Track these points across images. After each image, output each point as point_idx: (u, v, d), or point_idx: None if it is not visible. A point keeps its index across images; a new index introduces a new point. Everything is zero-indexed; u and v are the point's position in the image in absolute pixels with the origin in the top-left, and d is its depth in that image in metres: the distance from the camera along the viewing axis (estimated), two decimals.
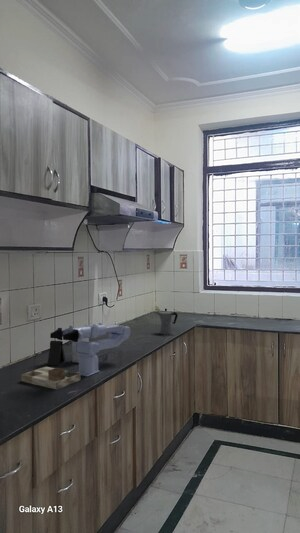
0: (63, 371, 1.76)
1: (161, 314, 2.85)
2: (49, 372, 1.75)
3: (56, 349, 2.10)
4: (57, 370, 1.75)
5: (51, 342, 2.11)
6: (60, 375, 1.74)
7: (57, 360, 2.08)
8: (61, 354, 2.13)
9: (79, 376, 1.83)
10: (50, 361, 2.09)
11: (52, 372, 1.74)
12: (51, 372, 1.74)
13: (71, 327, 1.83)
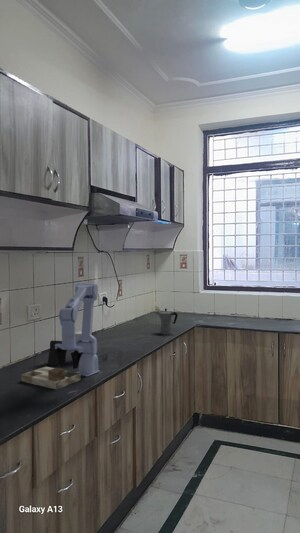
0: (63, 371, 1.76)
1: (161, 314, 2.85)
2: (49, 372, 1.75)
3: (56, 349, 2.10)
4: (57, 370, 1.75)
5: (51, 342, 2.11)
6: (60, 375, 1.74)
7: (57, 360, 2.08)
8: None
9: (79, 376, 1.83)
10: (50, 361, 2.09)
11: (52, 372, 1.74)
12: (51, 372, 1.74)
13: (64, 349, 1.68)
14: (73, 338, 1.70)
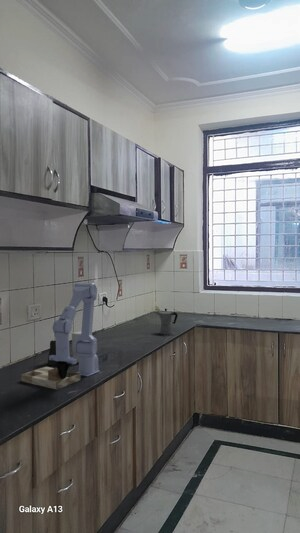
0: None
1: (161, 314, 2.85)
2: (49, 372, 1.75)
3: None
4: (57, 370, 1.75)
5: (51, 342, 2.11)
6: (59, 375, 1.74)
7: None
8: None
9: (79, 376, 1.83)
10: (50, 361, 2.09)
11: (52, 372, 1.74)
12: (51, 372, 1.74)
13: (58, 360, 1.70)
14: (67, 350, 1.72)
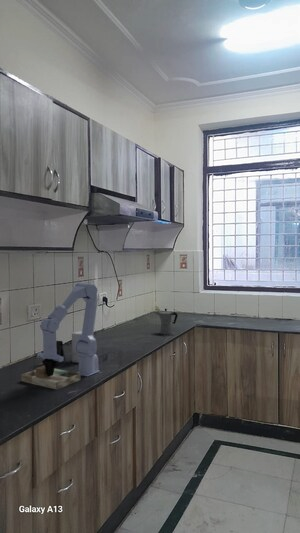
0: None
1: (161, 314, 2.85)
2: (36, 370, 1.79)
3: None
4: (44, 367, 1.79)
5: None
6: None
7: None
8: (61, 354, 2.13)
9: (79, 376, 1.83)
10: None
11: (39, 369, 1.78)
12: (38, 369, 1.78)
13: None
14: (54, 348, 1.76)
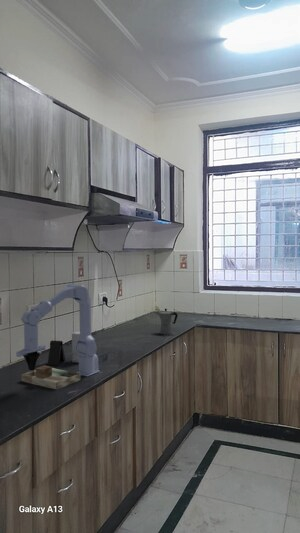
0: (50, 368, 1.80)
1: (161, 314, 2.85)
2: (36, 370, 1.79)
3: (56, 349, 2.10)
4: (44, 367, 1.79)
5: (51, 342, 2.11)
6: (47, 372, 1.78)
7: (57, 360, 2.08)
8: (61, 354, 2.13)
9: (79, 376, 1.83)
10: (50, 361, 2.09)
11: (39, 369, 1.78)
12: (38, 369, 1.78)
13: None
14: (26, 342, 1.71)
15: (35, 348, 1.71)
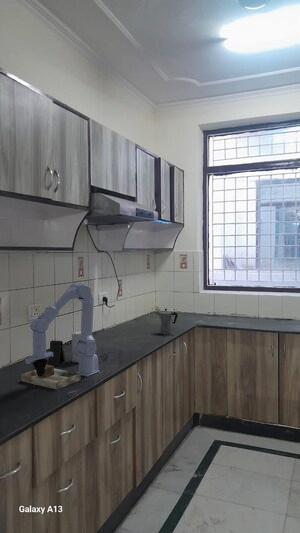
0: (52, 368, 1.81)
1: (161, 314, 2.85)
2: None
3: (56, 349, 2.10)
4: (46, 367, 1.80)
5: (51, 342, 2.11)
6: (49, 371, 1.79)
7: (57, 360, 2.08)
8: (61, 354, 2.13)
9: (79, 376, 1.83)
10: (50, 361, 2.09)
11: None
12: None
13: None
14: (34, 349, 1.75)
15: (43, 355, 1.75)
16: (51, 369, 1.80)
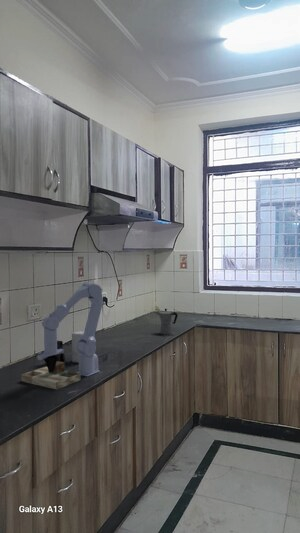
0: (63, 364, 1.87)
1: (161, 314, 2.85)
2: None
3: None
4: (57, 363, 1.86)
5: None
6: (60, 368, 1.85)
7: (57, 360, 2.08)
8: (61, 354, 2.13)
9: (79, 376, 1.83)
10: None
11: None
12: None
13: None
14: (46, 345, 1.80)
15: (54, 351, 1.81)
16: (62, 365, 1.86)
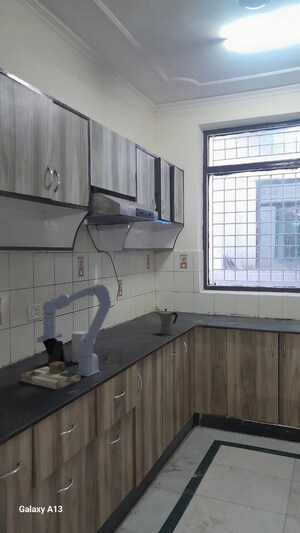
0: (63, 364, 1.87)
1: (161, 314, 2.85)
2: (50, 365, 1.86)
3: (56, 349, 2.10)
4: (57, 363, 1.86)
5: None
6: (60, 368, 1.85)
7: (57, 360, 2.08)
8: (61, 354, 2.13)
9: (79, 376, 1.83)
10: (50, 361, 2.09)
11: (52, 365, 1.85)
12: (52, 365, 1.85)
13: None
14: (45, 329, 1.86)
15: (53, 335, 1.87)
16: (62, 365, 1.86)
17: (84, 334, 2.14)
